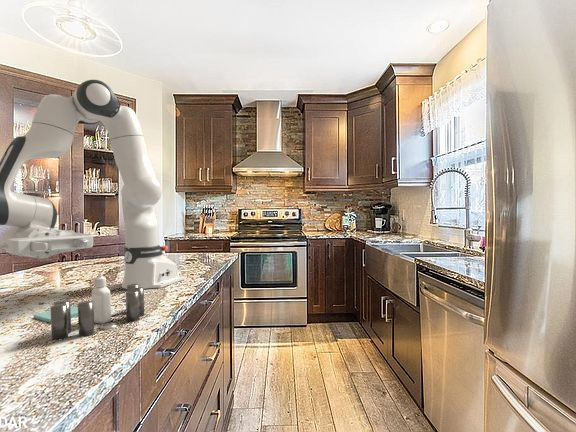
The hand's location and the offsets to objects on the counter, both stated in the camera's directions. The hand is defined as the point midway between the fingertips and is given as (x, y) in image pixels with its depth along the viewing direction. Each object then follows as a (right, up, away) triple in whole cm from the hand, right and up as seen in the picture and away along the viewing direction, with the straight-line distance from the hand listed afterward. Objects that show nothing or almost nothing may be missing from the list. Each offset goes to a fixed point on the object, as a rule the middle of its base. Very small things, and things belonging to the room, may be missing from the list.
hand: (68, 244), depth 90 cm
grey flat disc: (+16, -19, -10) cm, 27 cm away
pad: (-1, -18, -1) cm, 18 cm away
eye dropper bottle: (+12, -19, -6) cm, 23 cm away
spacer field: (+14, -18, -8) cm, 25 cm away
